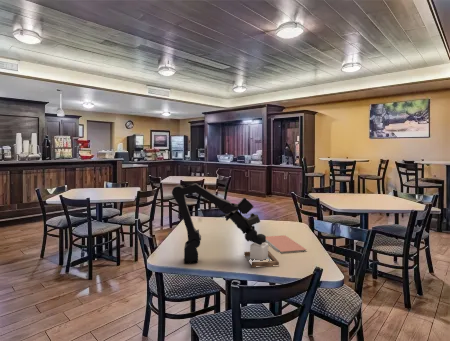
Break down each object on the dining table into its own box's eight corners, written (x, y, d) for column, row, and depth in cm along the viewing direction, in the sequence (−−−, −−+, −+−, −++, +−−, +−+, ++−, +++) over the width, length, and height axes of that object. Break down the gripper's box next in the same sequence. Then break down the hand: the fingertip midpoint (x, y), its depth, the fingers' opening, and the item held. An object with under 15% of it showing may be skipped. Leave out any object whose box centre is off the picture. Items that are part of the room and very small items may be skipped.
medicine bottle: (268, 257, 152) (269, 234, 151) (262, 261, 145) (263, 237, 144) (255, 254, 155) (256, 231, 154) (249, 258, 149) (250, 235, 148)
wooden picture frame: (252, 267, 142) (252, 263, 142) (244, 255, 157) (244, 251, 157) (278, 266, 144) (278, 262, 144) (268, 254, 160) (268, 250, 160)
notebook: (260, 239, 187) (260, 236, 187) (285, 237, 191) (285, 234, 191) (279, 254, 161) (279, 251, 161) (306, 252, 165) (306, 249, 165)
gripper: (253, 213, 139) (275, 237, 140) (249, 205, 157) (268, 226, 159) (236, 229, 139) (258, 252, 140) (234, 220, 158) (253, 240, 159)
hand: (260, 242), depth 150 cm, fingers closed on medicine bottle, 6 cm apart
